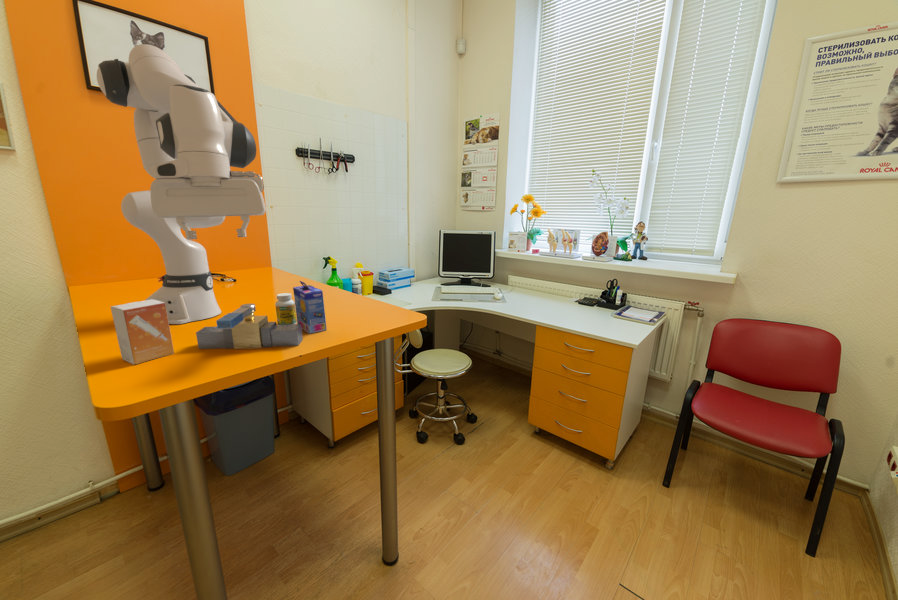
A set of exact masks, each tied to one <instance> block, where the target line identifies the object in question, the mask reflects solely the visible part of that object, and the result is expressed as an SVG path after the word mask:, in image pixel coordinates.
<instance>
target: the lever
mask: <svg viewBox="0 0 898 600" xmlns="http://www.w3.org/2000/svg"><path fill="white" fill-rule="evenodd" d="M256 310H257V309H256V304H255V303H245V304H241V305H240V307H238V308H236V309H235V310H234V311H232V312H228V313H226V314H224V315H223V316H222V317H220V318H218V319H217V320H215V323H216V327H217V329H220V328H233V327H234V326H236V325H237V324H239V323H240V322H241V321H243V319H244V318H245V317H246V316H248V315H249V314H251V313H252V312H254V313H255V312H256Z"/></svg>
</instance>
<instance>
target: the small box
mask: <svg viewBox="0 0 898 600" xmlns="http://www.w3.org/2000/svg"><path fill="white" fill-rule="evenodd" d="M110 310H111V314H112V315H111V316H112V319H113V323H114V328H115V333H116V337H117V342H118V347H119V350H120V351H119V352H120V355H121V358H122V360H123V361H125V362H128V363H130V364H132V365H134V366H135V364H136V365H138V364H141V363H144V362H149V361H152V360H155V359H158V358H162V357H167V356H169V355H170V356H171V355H173V354H174V353H175V350H174V344H173V340H172V339H173V338H172V334H171V327H170V324H169V322H168V316H167V310H166V305H165V302H161V301H158V300H154V299H150V300H146V299H145V300H141V301H133V302H127V303H124V304H118V305H113V306H112V305H111V306H110Z"/></svg>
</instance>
